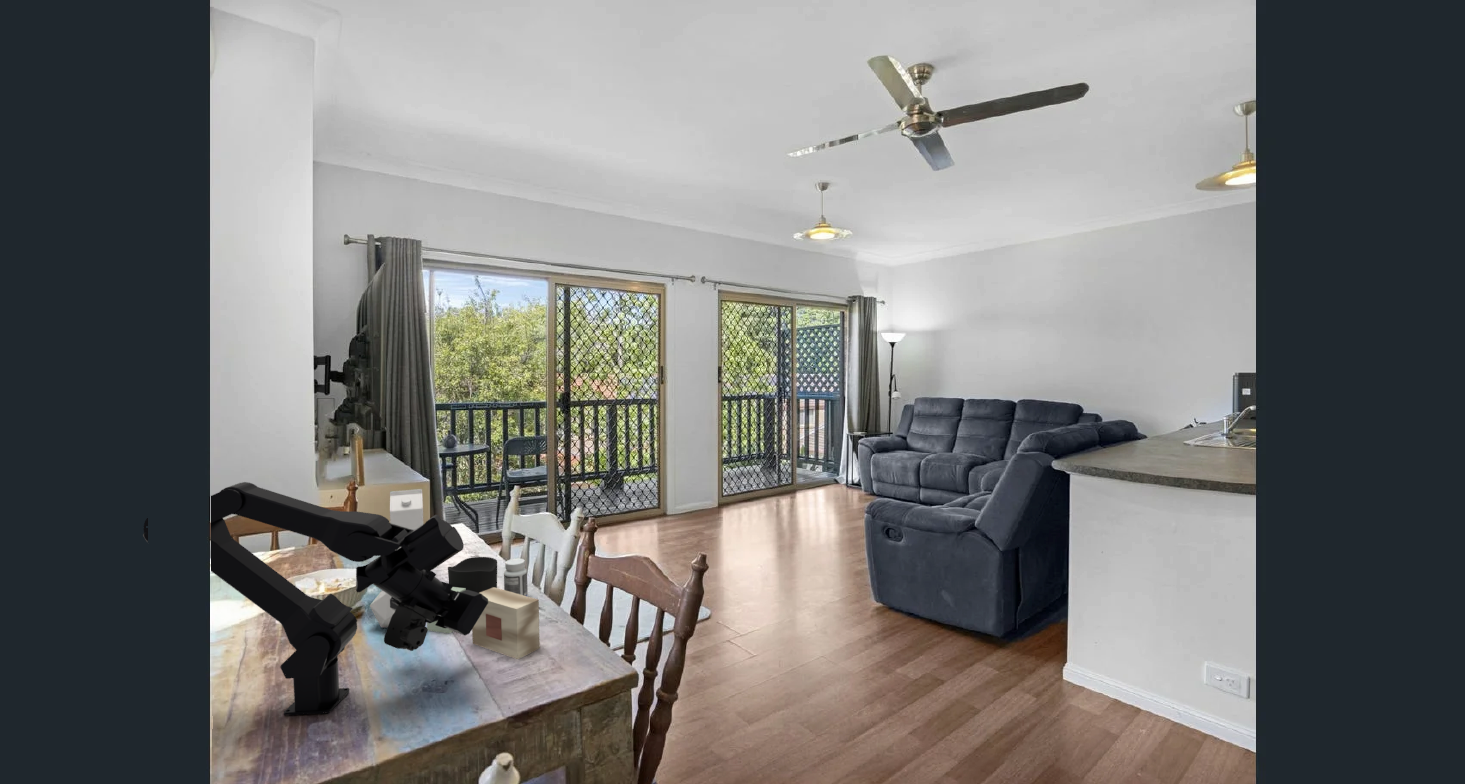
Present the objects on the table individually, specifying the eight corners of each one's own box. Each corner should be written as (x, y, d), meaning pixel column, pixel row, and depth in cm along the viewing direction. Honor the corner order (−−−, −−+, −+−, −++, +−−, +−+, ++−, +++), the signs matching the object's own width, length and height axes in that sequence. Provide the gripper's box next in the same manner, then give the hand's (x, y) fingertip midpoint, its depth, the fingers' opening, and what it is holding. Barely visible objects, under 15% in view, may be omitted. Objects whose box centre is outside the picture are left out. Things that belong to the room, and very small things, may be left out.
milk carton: (393, 563, 165) (390, 488, 164) (424, 559, 168) (422, 486, 167) (392, 572, 159) (389, 494, 157) (424, 567, 162) (422, 491, 160)
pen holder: (502, 614, 133) (501, 566, 132) (453, 625, 128) (451, 574, 128) (493, 599, 141) (491, 554, 140) (445, 608, 136) (444, 561, 136)
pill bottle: (519, 593, 145) (518, 556, 144) (532, 598, 142) (531, 560, 141) (500, 599, 141) (499, 561, 140) (512, 605, 138) (511, 566, 137)
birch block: (517, 659, 114) (516, 609, 113) (472, 644, 120) (470, 595, 119) (539, 648, 118) (538, 599, 118) (495, 633, 124) (493, 587, 124)
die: (388, 641, 123) (421, 595, 125) (352, 616, 124) (385, 570, 126) (408, 638, 130) (439, 595, 133) (374, 614, 132) (405, 572, 134)
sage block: (449, 633, 124) (448, 597, 124) (426, 630, 126) (425, 595, 125) (466, 623, 129) (465, 588, 129) (445, 620, 130) (444, 585, 130)
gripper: (338, 617, 102) (406, 657, 113) (410, 645, 93) (478, 686, 103) (385, 554, 109) (446, 598, 119) (457, 574, 99) (517, 619, 109)
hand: (469, 625), depth 112 cm, fingers closed
